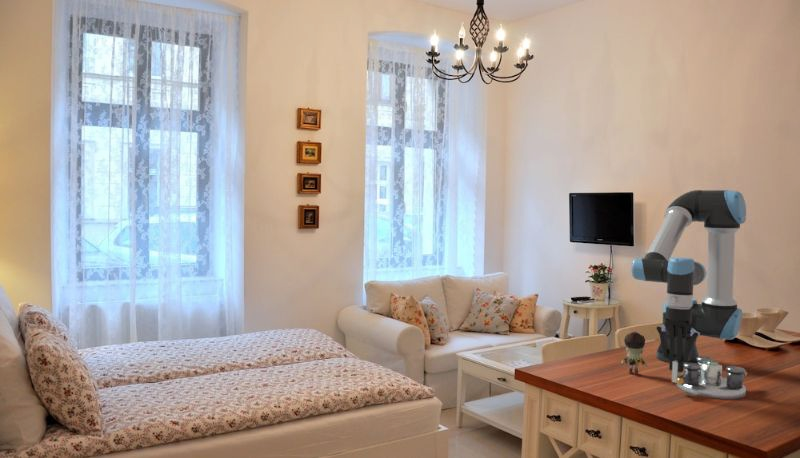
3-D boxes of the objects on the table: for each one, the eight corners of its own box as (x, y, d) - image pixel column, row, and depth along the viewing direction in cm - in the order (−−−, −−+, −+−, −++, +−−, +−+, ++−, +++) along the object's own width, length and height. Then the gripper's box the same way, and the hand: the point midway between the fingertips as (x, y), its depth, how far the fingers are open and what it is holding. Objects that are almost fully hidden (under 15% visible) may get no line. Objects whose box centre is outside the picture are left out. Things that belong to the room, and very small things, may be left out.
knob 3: (741, 390, 195) (742, 371, 194) (722, 386, 198) (723, 368, 198) (752, 381, 204) (753, 363, 204) (735, 378, 208) (736, 360, 208)
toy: (647, 372, 221) (649, 330, 220) (646, 378, 214) (648, 334, 213) (621, 369, 225) (622, 327, 224) (619, 374, 218) (620, 331, 217)
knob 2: (709, 378, 207) (710, 361, 206) (693, 375, 210) (694, 358, 210) (723, 371, 216) (724, 354, 216) (707, 368, 220) (708, 351, 219)
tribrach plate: (667, 388, 203) (668, 361, 203) (689, 376, 217) (690, 351, 217) (734, 403, 189) (735, 374, 189) (753, 389, 203) (755, 363, 203)
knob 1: (685, 379, 205) (686, 361, 205) (702, 382, 202) (703, 364, 201) (669, 387, 196) (670, 369, 195) (687, 391, 192) (688, 372, 192)
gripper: (653, 305, 199) (650, 379, 200) (696, 311, 190) (692, 388, 191) (663, 303, 204) (659, 374, 205) (705, 308, 195) (701, 383, 196)
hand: (675, 381), depth 198 cm, fingers closed
